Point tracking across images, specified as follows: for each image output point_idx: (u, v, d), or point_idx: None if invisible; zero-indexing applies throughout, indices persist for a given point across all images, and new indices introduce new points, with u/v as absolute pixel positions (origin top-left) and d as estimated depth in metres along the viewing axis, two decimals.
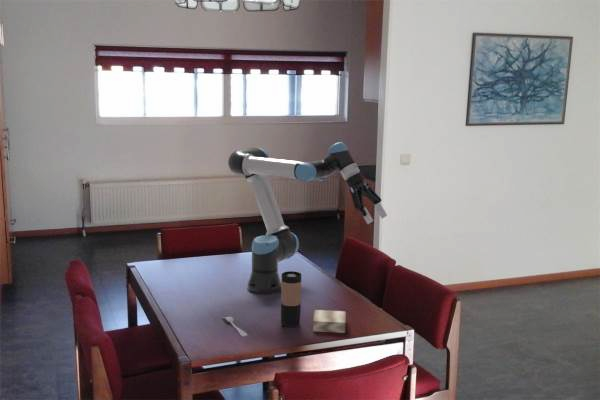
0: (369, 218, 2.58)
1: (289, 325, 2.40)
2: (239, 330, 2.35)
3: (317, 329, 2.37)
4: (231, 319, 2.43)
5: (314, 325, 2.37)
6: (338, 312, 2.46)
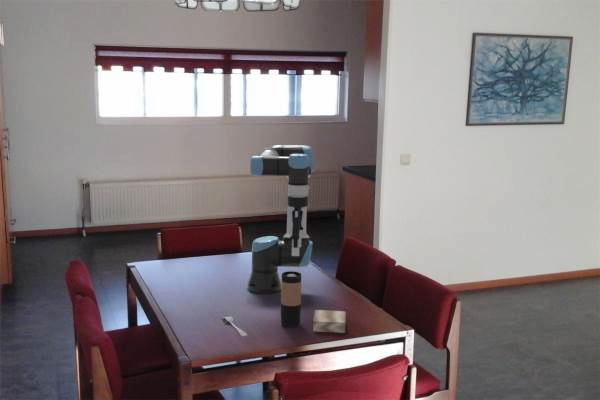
0: (297, 251, 2.31)
1: (289, 325, 2.40)
2: (239, 330, 2.35)
3: (317, 329, 2.37)
4: (231, 319, 2.43)
5: (314, 325, 2.37)
6: (338, 312, 2.46)
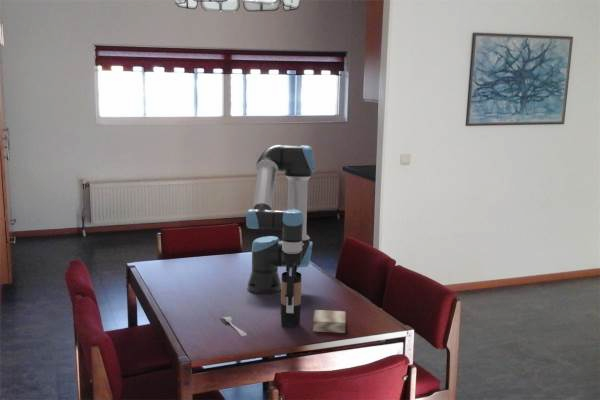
0: (291, 309, 2.38)
1: (289, 325, 2.40)
2: (238, 330, 2.35)
3: (317, 329, 2.37)
4: (230, 319, 2.43)
5: (314, 325, 2.37)
6: (338, 312, 2.46)
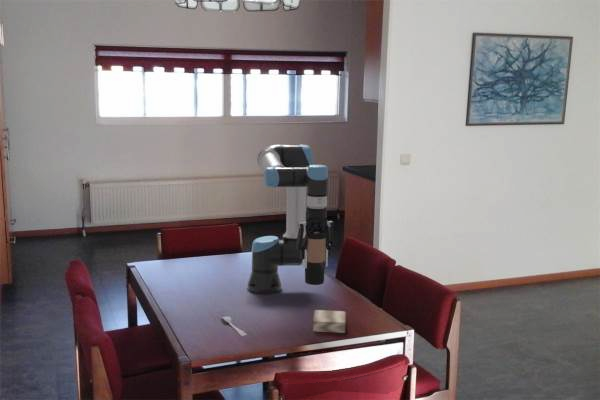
0: (304, 263, 2.36)
1: (305, 280, 2.38)
2: (238, 330, 2.35)
3: (317, 329, 2.37)
4: (229, 319, 2.43)
5: (314, 325, 2.37)
6: (338, 312, 2.46)
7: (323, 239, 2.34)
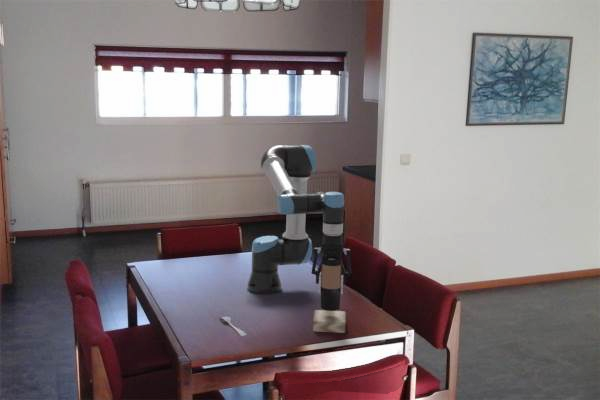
0: None
1: None
2: (238, 330, 2.35)
3: (317, 329, 2.37)
4: (228, 319, 2.43)
5: (314, 325, 2.37)
6: (338, 312, 2.46)
7: (336, 266, 2.35)
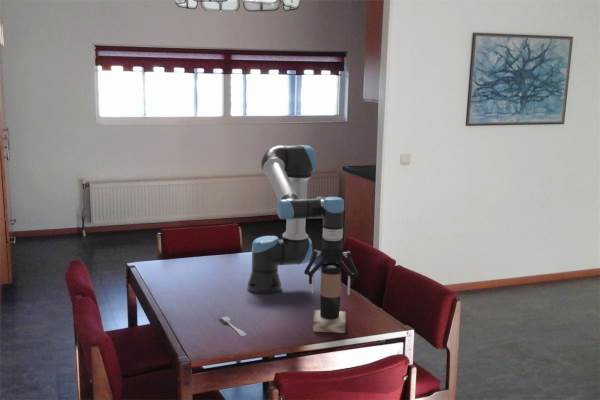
0: None
1: (320, 313, 2.42)
2: (237, 330, 2.35)
3: (317, 329, 2.37)
4: (228, 319, 2.43)
5: (314, 325, 2.37)
6: None
7: (336, 275, 2.36)
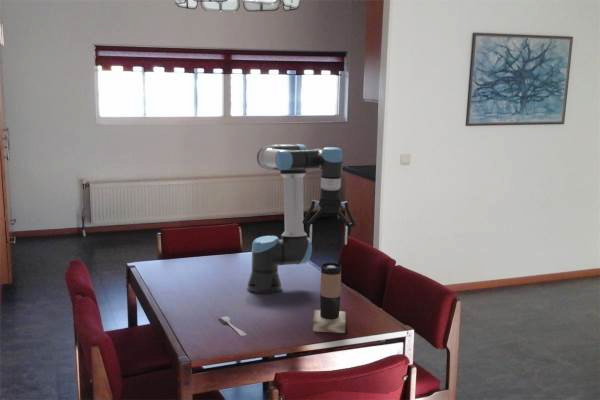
0: (309, 238, 2.43)
1: (320, 313, 2.42)
2: (237, 330, 2.35)
3: (317, 329, 2.37)
4: (228, 319, 2.43)
5: (314, 325, 2.37)
6: None
7: (335, 275, 2.36)
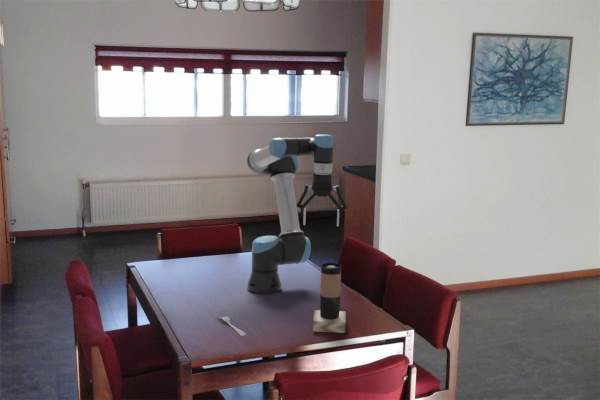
0: (303, 220, 2.57)
1: (320, 313, 2.42)
2: (237, 330, 2.36)
3: (317, 329, 2.37)
4: (227, 319, 2.43)
5: (314, 325, 2.37)
6: None
7: (335, 275, 2.36)
